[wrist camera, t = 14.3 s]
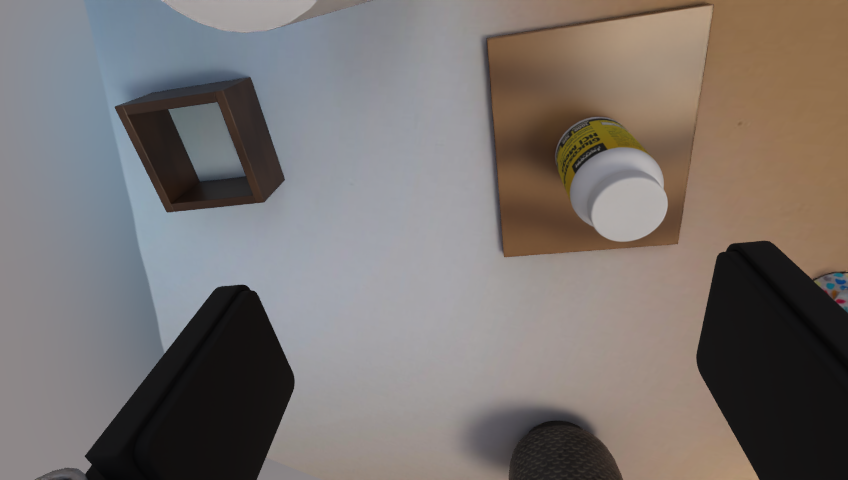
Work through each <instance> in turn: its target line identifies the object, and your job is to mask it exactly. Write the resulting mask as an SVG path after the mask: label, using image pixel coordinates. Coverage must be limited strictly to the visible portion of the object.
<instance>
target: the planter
mask: <svg viewBox="0 0 848 480" xmlns="http://www.w3.org/2000/svg"><path fill="white" fill-rule="evenodd" d="M509 480H623V478H622V476H621V473H620V471H619V468H618V466H617V464H616V462H615V460H614V458H613V456H612V455H611V453H610V452H609V450H608V449H607V447H606V446H605V445H604V444H603V443H602V442H601V441H600V440H599V439H598V438H597V437H595V436H594V435H593V434H591V433H589V432H587V431H585V430H583V429H582V428H580V427H579V426H577V425H575V424H572V423H569V422H563V421H551V422H546V423H543V424H540V425H538V426H536V427H534V428H533V429H532V430H531V431H530V432H529V433H528V434H527V435H526V436H525V437H523V438H522V439H521V441H520V442H519V443H518V444H517V446H516V448H515V449H514V451H513V454H512V458H511V462H510V468H509Z"/></svg>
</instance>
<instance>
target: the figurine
mask: <svg viewBox="0 0 848 480" xmlns="http://www.w3.org/2000/svg"><path fill="white" fill-rule="evenodd" d="M813 281H814V282H815V283H816V284H817V285H818V286H819V287H821V288H822V289H823V290H824V291H825V292H826V293H827V294H828V295H829V296H830V297H831V298H832V299H833V300H835V301H836V302H837V303H838V304H839V305H840V306H841V307H842V308H843V309H844V310H845V311H846V312H848V272H840V273H830V274H827V275H825V276H822V277H820V278H817V279H815V280H813Z"/></svg>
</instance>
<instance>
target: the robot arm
mask: <svg viewBox="0 0 848 480" xmlns="http://www.w3.org/2000/svg"><path fill="white" fill-rule="evenodd" d="M696 358H697V366H698V369H699V372H700V374H701V376H702V378H703V379H704V381H705V383H706V385H707V387H708V388H709V390H710V392H711V394H712V395H713V397H714V399H715V401H716V403H717V404H718V406H719V408H720V410H721V412H722V413H723V415H724V417H725V419H726V420H727V422H728V424H729V426H730V428H731V429H732V431H733V433H734V435H735V437H736V438H737V440H738V442H739V444H740V445H741V447H742V449H743V451H744V453H745V454H746V456H747V458H748V460H749V461H750V463H751V465H752V467H753V469H754V470H755V472H756V474H757V476H758V478H759V479H760V480H848V312H846V311H845V310H844V309H843V308H842V307H841V306H840V305H839V304H838V303H837V302H836V301H835V300H833V299H832V298H831V297H830V296H829V295H828V294H827V293H826V292H825V291H824V290H823V289H822V288H821V287H819V286H818V285H817V284H816V283H815V282H814V281H813V280H812V279H811V278H810V277H809V276H808V275H807V274H805V273H804V272H803V271H802V270H801V269H800V268H799V267H798V266H797V265H796V264H795V263H794V262H792V261H791V260H790V259H789V258H788V257H787V256H786V255H785V254H784V253H783V252H782V251H781V250H780V249H778V248H777V247H776V246H775V245H774V244H773V243H771V242H770V241H757V242H745V243H733V244H731V245H730V246H729V247H728V248H727V250H726V252H721V253H719V255H718V256H717V259H716V264H715V269H714V273H713V278H712V283H711V288H710V292H709V297H708V302H707V307H706V312H705V316H704V321H703V326H702V331H701V336H700V340H699V345H698V350H697V356H696ZM294 383H295V380H294V375H293V372H292V370H291V367H290V365H289V363H288V361H287V359H286V356H285V354H284V352H283V350H282V347H281V345H280V343H279V341H278V339H277V336H276V334H275V332H274V330H273V327H272V325H271V323H270V321H269V319H268V316H267V314H266V312H265V310H264V307H263V305H262V303H261V301H260V298H259V296H258V295H257V293H256V292H255V291H251V290H250V289H249V287H247V286H246V285H233V286H221V287H218V288H216V289H215V290H214V291H213V292H212V294H211V295H210V296H209V297H208V299H207V300H206V301H205V303H204V304H203V305H202V306H201V308H200V309H199V310H198V312H197V313H196V314H195V315H194V317H193V318H192V319H191V321H190V322H189V323H188V324H187V326H186V327H185V328H184V330H183V331H182V332H181V333H180V335H179V336H178V337H177V339H176V340H175V341H174V342H173V344H172V345H171V346H170V347H169V349H168V350H167V351H166V353H165V354H164V355H163V357H162V358H161V359H160V360H159V362H158V363H157V364H156V366H155V367H154V368H153V369H152V371H151V372H150V373H149V374H148V376H147V377H146V379H145V380H144V381H143V382H142V383H141V385H140V386H139V387H138V389H137V390H136V391H135V392H134V394H133V395H132V396H131V398H130V399H129V400H128V401H127V403H126V404H125V405H124V407H123V408H122V409H121V411H120V412H119V413H118V414H117V416H116V417H115V418H114V419H113V421H112V422H111V423H110V424H109V426H108V427H107V428H106V430H105V431H104V432H103V433H102V435H101V436H100V437H99V439H98V440H97V441H96V442H95V444H94V445H93V446H92V448H91V449H90V450H89V451H88V453H87V454H86V455H85V457H86V458H87V460H88V461H89V462H90V463H91V464H92V466H91V467H90V469H89V470H88V471H87V472H86V474H84V473H83V472H81V471H80V470H79V469H74V468H64V469H59V470H55V471H52V472H50V473H48V474H45V475H43V476H41V477H39V478H37V479H35V480H257V477H258V475H259V473H260V470H261V468H262V465H263V463H264V460H265V458H266V456H267V453H268V451H269V448H270V446H271V443H272V441H273V439H274V436H275V434H276V431H277V429H278V426H279V424H280V422H281V419H282V417H283V414H284V412H285V409H286V407H287V405H288V402H289V400H290V397H291V395H292V392H293V389H294Z"/></svg>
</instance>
